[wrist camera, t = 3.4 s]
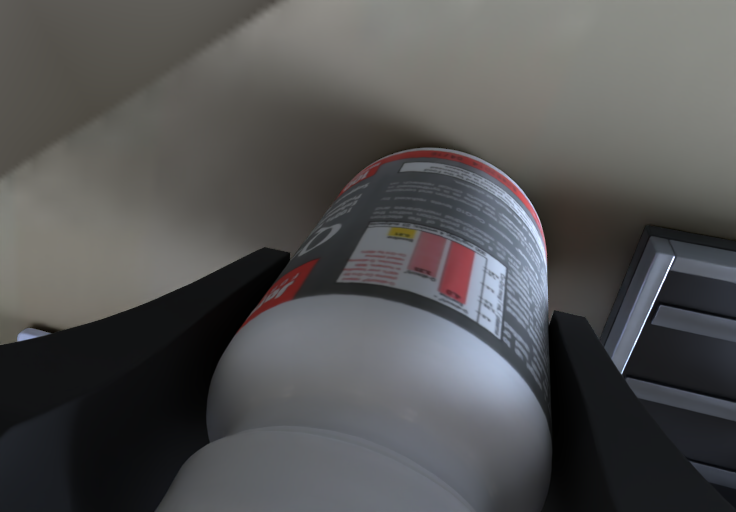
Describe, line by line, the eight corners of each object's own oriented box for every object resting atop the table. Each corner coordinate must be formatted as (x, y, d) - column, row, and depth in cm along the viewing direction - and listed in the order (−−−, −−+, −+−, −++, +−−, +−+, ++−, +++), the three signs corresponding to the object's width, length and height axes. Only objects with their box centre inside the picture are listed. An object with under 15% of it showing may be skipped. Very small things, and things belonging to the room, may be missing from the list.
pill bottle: (347, 118, 13) (47, 406, 5) (578, 169, 13) (662, 611, 4) (325, 300, 17) (115, 663, 8) (510, 352, 16) (483, 812, 7)
